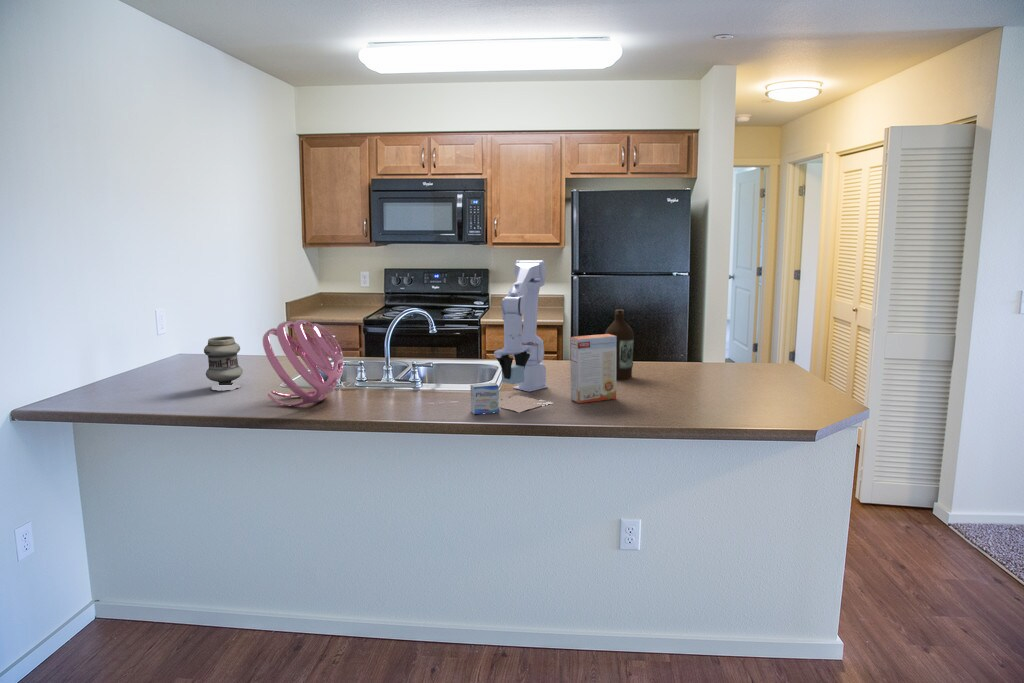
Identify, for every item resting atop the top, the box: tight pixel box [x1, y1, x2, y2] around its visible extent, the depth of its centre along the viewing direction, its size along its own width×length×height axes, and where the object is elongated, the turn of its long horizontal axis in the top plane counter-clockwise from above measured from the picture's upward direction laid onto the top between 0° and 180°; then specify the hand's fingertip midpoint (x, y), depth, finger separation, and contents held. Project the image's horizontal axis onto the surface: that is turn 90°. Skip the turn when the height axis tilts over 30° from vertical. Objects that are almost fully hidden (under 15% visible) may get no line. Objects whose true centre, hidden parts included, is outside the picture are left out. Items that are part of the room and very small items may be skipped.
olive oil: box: [604, 309, 635, 381], centre depth 260 cm, size 11×11×25 cm
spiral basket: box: [262, 319, 344, 407], centre depth 229 cm, size 28×28×27 cm
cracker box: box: [569, 333, 617, 404], centre depth 229 cm, size 14×6×21 cm, turn 111°
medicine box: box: [469, 382, 500, 415], centre depth 216 cm, size 8×4×9 cm, turn 106°
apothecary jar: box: [203, 335, 244, 385], centre depth 250 cm, size 12×12×18 cm
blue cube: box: [501, 363, 524, 385], centre depth 226 cm, size 5×5×5 cm
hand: (513, 377), depth 226 cm, fingers closed on blue cube, 5 cm apart
